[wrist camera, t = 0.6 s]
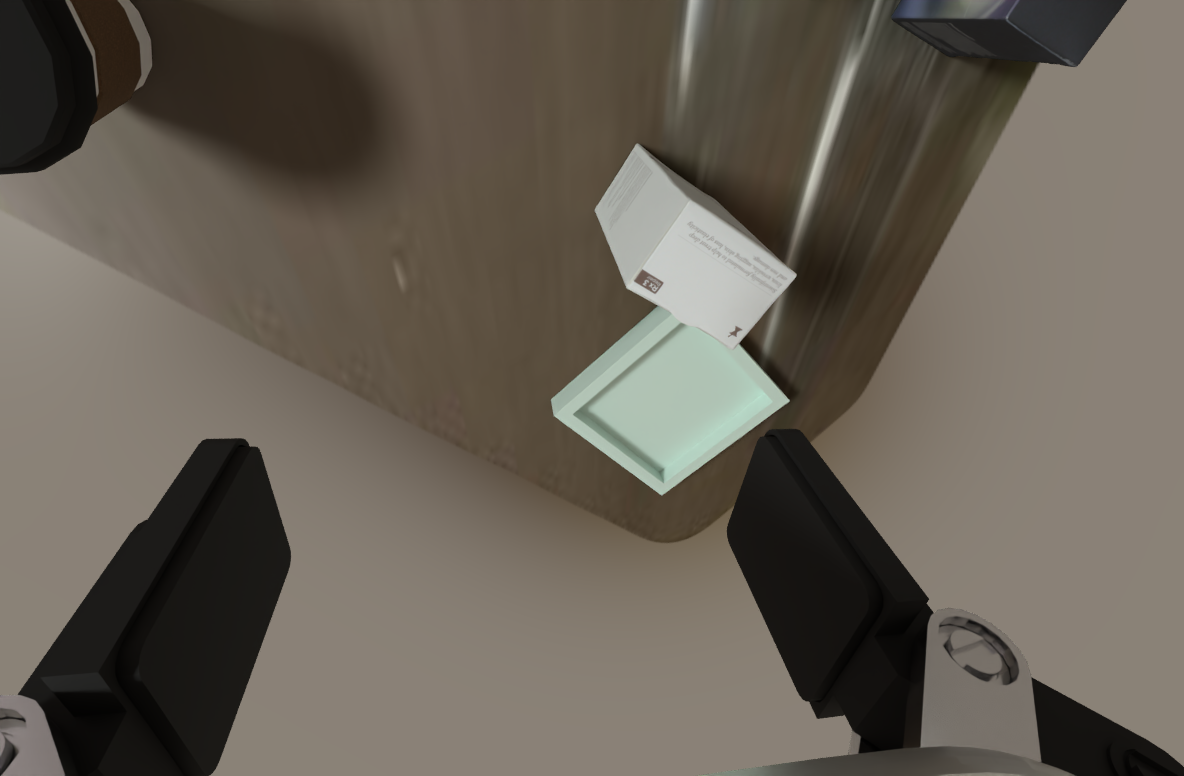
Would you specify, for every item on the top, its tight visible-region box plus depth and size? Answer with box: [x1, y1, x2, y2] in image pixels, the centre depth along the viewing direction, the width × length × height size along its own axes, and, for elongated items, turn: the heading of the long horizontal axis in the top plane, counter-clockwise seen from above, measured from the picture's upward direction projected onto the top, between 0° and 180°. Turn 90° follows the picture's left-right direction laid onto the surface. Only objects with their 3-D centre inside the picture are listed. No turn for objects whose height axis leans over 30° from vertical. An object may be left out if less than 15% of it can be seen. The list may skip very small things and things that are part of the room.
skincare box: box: [595, 144, 797, 350], centre depth 35 cm, size 8×6×15 cm
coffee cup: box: [0, 0, 152, 174], centre depth 25 cm, size 11×11×12 cm
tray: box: [551, 306, 789, 495], centre depth 51 cm, size 16×16×2 cm
